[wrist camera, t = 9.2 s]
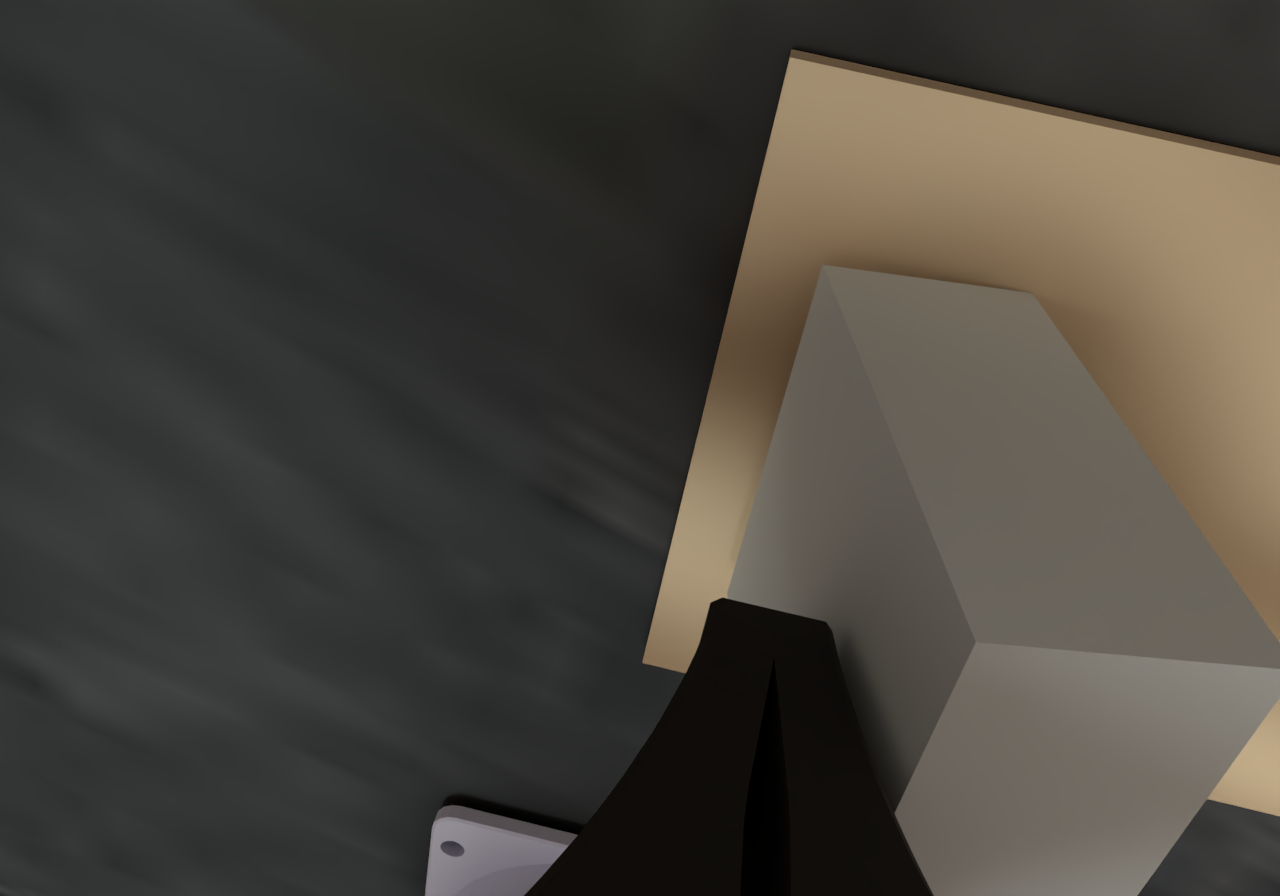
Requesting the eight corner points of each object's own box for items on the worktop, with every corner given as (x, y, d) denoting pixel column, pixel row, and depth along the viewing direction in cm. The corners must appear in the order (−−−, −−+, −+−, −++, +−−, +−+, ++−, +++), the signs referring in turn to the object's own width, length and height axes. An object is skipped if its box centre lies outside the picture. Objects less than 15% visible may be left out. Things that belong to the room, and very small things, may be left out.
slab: (901, 609, 19) (1044, 1025, 13) (726, 592, 19) (797, 1016, 13) (1031, 292, 16) (1298, 670, 10) (822, 264, 15) (975, 642, 10)
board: (1290, 802, 21) (1297, 820, 20) (645, 647, 21) (642, 663, 21) (1721, 254, 14) (1741, 267, 14) (791, 49, 15) (789, 56, 14)
